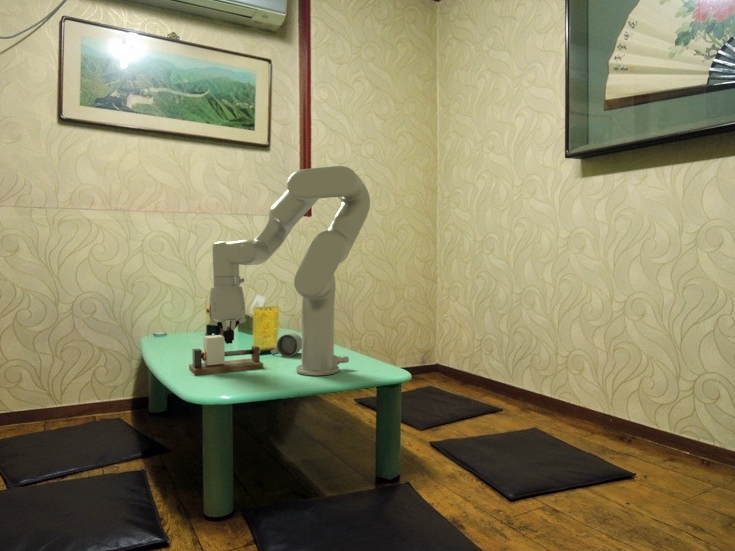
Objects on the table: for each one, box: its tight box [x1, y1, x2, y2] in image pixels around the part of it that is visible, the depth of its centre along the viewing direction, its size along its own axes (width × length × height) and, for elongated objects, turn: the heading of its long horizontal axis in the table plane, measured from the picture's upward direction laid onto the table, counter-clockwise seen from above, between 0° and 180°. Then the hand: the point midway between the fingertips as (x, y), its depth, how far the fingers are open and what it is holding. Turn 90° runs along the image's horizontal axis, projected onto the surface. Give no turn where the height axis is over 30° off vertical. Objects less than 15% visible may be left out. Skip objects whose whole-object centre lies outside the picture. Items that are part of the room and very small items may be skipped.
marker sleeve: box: [203, 334, 226, 365], centre depth 151 cm, size 5×5×8 cm
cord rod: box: [191, 348, 254, 368], centre depth 152 cm, size 18×3×5 cm, turn 119°
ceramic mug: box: [270, 332, 302, 358], centre depth 176 cm, size 11×8×8 cm
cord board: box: [188, 345, 264, 376], centre depth 153 cm, size 20×9×6 cm, turn 119°
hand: (228, 342), depth 153 cm, fingers closed
